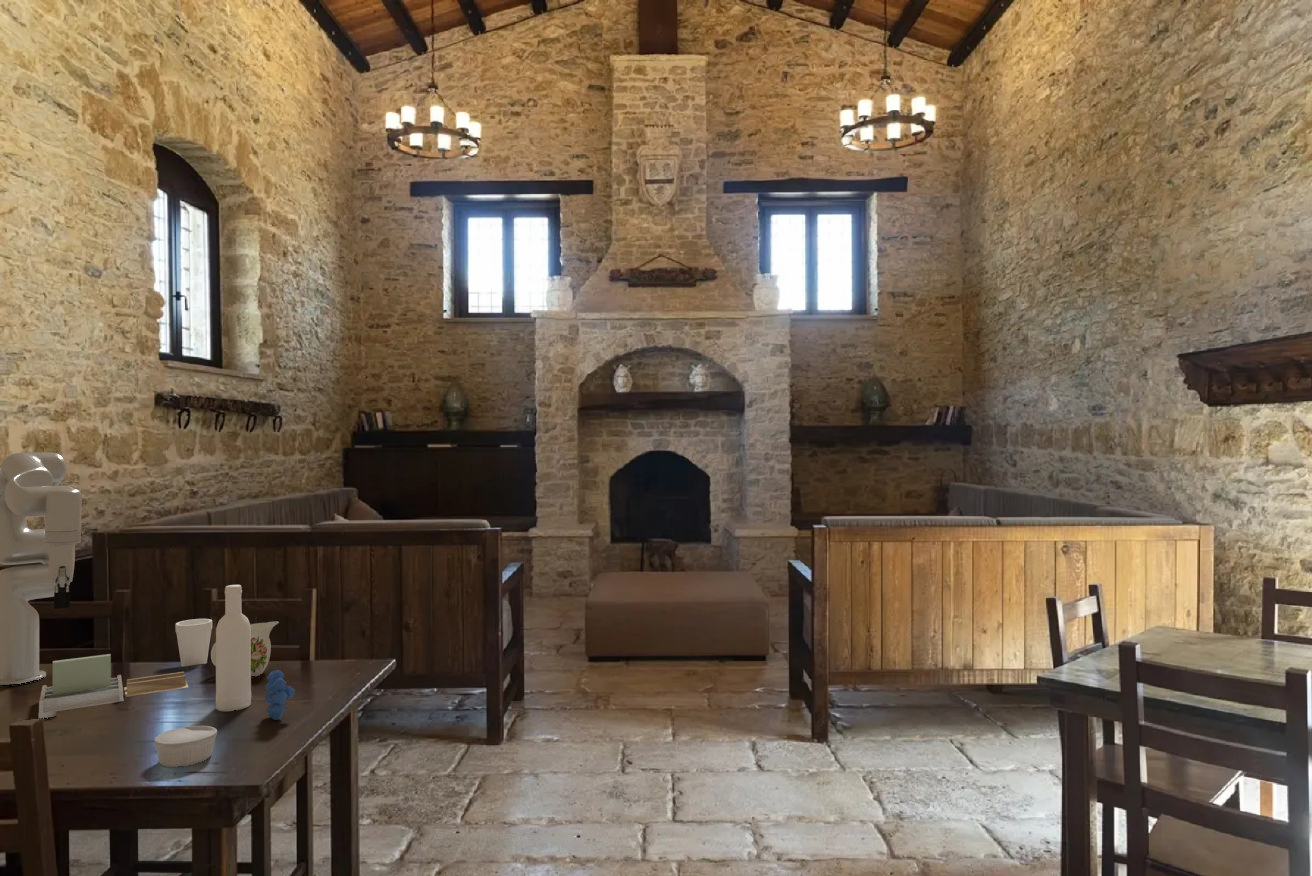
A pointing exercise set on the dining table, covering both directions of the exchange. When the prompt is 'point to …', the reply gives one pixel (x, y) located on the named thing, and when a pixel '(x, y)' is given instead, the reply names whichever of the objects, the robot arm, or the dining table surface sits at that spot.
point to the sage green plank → (81, 673)
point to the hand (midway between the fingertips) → (62, 604)
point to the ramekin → (185, 745)
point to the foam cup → (193, 641)
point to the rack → (79, 698)
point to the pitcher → (256, 647)
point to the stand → (155, 684)
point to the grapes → (277, 694)
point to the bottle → (233, 655)
